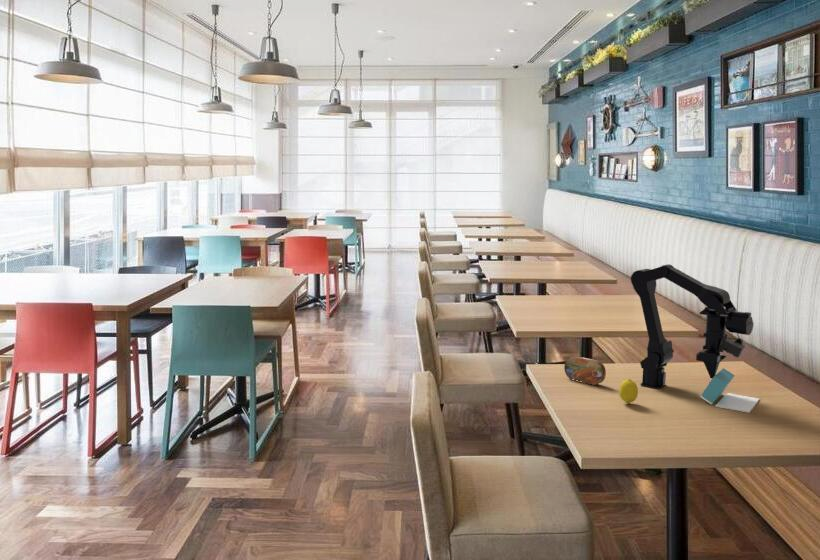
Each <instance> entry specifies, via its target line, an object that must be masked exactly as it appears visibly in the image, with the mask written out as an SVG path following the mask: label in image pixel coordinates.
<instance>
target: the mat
mask: <svg viewBox="0 0 820 560" xmlns="http://www.w3.org/2000/svg"><path fill="white" fill-rule="evenodd" d="M759 401H760V398H757V397H752V396H745V395H740V394H736V393H729V392H727V393H726V394H725V395H724V396H723V397H722V398H721V399H720V400H719V401H718V402H717V404H715V408H721V409H727V410H732V411H738V412H743V413H748V414H749V413H750V412H751V411H752V410H753V409H754V408H755V406H756V405H757V403H758V402H759Z"/></svg>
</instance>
